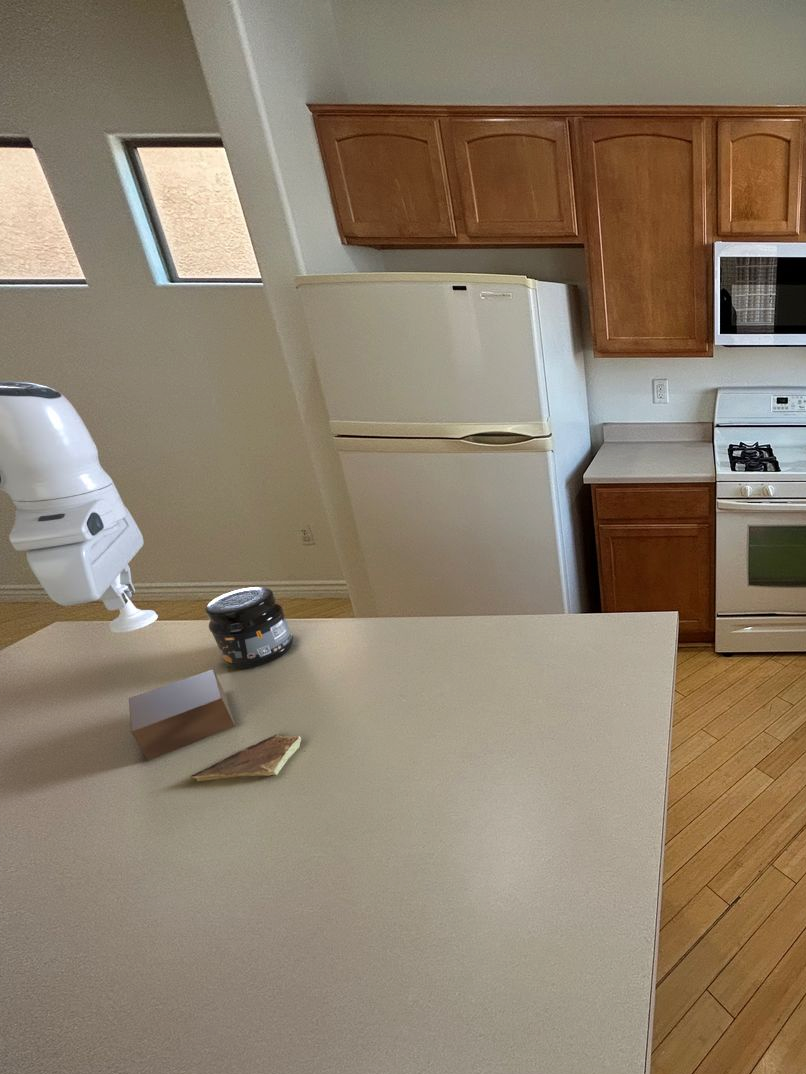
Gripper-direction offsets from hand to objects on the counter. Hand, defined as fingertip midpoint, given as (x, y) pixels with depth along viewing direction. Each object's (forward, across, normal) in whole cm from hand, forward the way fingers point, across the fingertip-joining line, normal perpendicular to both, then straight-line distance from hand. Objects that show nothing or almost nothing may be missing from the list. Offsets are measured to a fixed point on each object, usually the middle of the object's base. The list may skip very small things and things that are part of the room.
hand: (122, 601), depth 77 cm
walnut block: (+23, +1, 0) cm, 23 cm away
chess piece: (+4, 0, 0) cm, 4 cm away
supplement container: (+23, -17, +8) cm, 30 cm away
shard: (+23, +16, +10) cm, 30 cm away
